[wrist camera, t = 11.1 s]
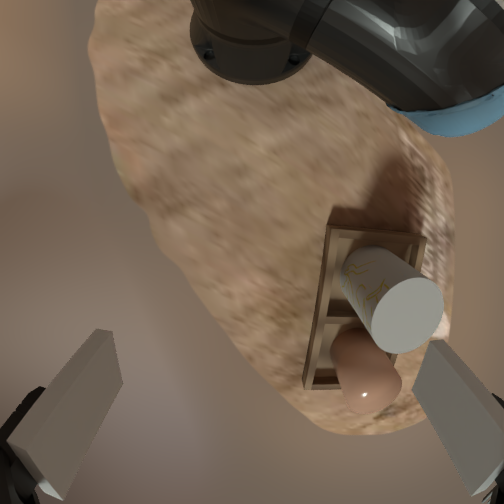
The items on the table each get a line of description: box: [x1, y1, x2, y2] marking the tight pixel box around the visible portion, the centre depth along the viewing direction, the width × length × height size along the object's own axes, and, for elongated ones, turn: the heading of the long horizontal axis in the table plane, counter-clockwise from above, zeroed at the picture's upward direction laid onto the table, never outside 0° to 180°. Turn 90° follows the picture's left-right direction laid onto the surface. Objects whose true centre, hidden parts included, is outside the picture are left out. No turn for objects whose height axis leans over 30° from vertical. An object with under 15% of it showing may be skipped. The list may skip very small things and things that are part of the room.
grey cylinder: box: [340, 245, 444, 354], centre depth 32 cm, size 8×8×12 cm
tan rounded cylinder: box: [330, 327, 402, 414], centre depth 36 cm, size 7×7×10 cm
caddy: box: [302, 225, 427, 390], centre depth 39 cm, size 23×13×2 cm, turn 176°
